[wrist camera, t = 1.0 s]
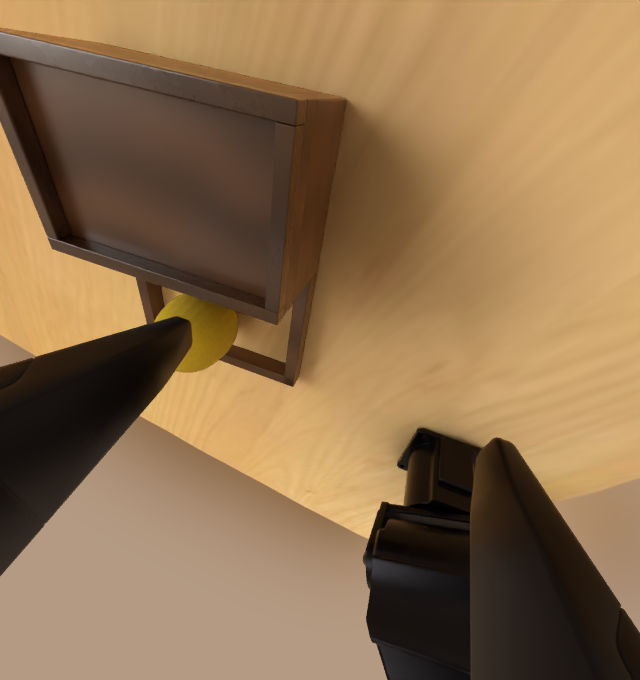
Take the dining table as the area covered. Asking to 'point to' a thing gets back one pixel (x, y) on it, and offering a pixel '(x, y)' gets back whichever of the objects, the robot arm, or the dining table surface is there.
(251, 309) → the step shelf
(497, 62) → the dining table surface
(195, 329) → the lemon
